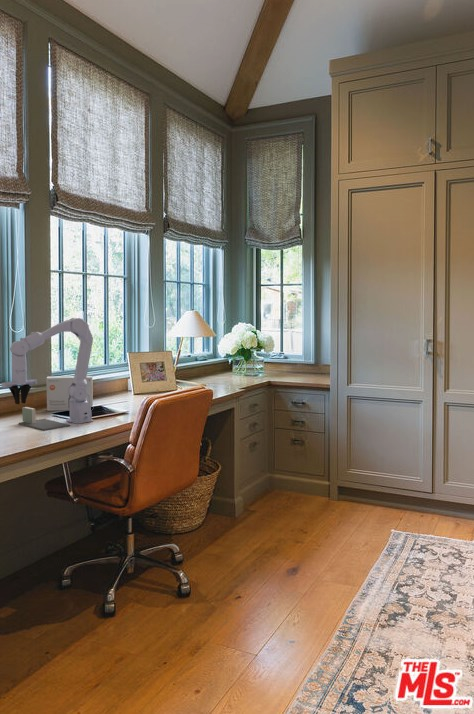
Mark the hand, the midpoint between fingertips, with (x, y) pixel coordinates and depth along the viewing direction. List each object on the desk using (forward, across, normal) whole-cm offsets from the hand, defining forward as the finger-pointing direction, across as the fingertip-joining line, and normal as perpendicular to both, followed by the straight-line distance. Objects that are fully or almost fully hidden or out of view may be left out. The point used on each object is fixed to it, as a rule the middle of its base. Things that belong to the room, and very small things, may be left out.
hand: (20, 403), depth 246 cm
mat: (+9, -8, +5) cm, 13 cm away
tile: (+9, -5, -3) cm, 10 cm away
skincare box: (+10, -36, -20) cm, 42 cm away
